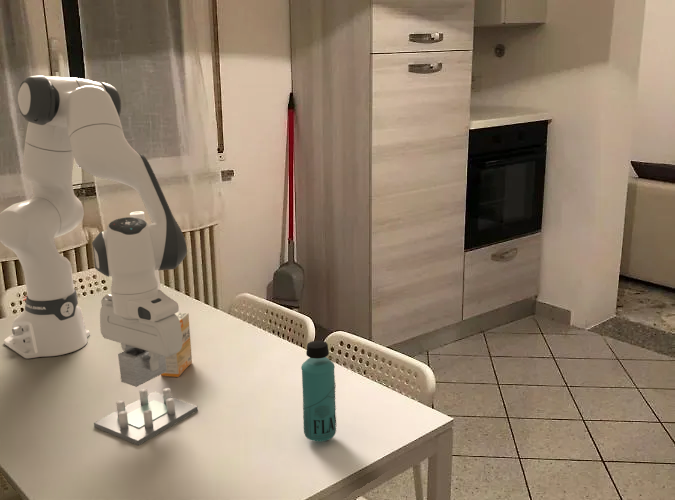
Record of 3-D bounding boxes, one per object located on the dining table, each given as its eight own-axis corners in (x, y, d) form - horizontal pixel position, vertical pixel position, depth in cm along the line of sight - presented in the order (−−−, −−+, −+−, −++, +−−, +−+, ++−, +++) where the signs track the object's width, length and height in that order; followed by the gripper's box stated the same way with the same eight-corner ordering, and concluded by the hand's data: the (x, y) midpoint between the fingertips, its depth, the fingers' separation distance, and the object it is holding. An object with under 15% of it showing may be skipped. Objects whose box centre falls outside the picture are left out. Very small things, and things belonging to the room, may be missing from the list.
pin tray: (94, 427, 142) (92, 409, 141) (154, 395, 155) (153, 378, 154) (138, 445, 135) (136, 426, 134) (197, 410, 148) (196, 393, 147)
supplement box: (179, 377, 163) (174, 325, 159) (160, 376, 164) (155, 323, 160) (193, 362, 171) (189, 312, 167) (174, 361, 172) (170, 311, 168)
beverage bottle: (310, 452, 131) (307, 353, 126) (298, 435, 137) (294, 340, 132) (342, 444, 134) (340, 346, 128) (328, 428, 140) (326, 334, 134)
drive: (121, 381, 140) (117, 353, 139) (151, 366, 147) (149, 339, 145) (136, 386, 138) (133, 358, 136) (166, 371, 144) (164, 343, 143)
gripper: (88, 297, 141) (96, 360, 145) (160, 315, 130) (166, 383, 134) (113, 288, 146) (120, 350, 150) (184, 305, 135) (190, 371, 139)
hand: (143, 366), depth 142 cm, fingers closed on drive, 4 cm apart
